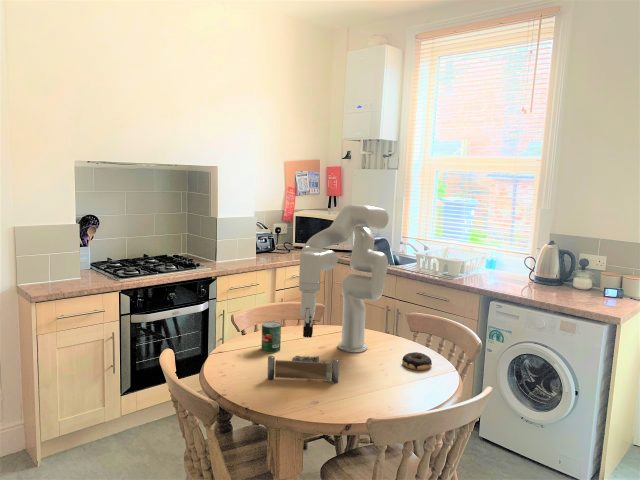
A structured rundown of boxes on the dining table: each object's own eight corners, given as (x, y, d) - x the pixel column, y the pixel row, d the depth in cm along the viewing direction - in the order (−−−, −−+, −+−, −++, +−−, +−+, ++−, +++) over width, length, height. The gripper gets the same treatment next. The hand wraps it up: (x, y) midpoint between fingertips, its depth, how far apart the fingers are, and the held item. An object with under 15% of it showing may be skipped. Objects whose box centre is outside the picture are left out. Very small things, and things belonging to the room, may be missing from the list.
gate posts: (268, 377, 185) (268, 355, 183) (338, 380, 184) (339, 359, 182) (267, 379, 182) (267, 358, 181) (338, 383, 181) (339, 361, 180)
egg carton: (290, 371, 191) (290, 360, 191) (292, 363, 199) (292, 353, 198) (318, 372, 191) (319, 361, 190) (319, 364, 198) (320, 354, 198)
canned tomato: (257, 351, 210) (258, 325, 208) (267, 345, 217) (267, 320, 216) (275, 354, 207) (275, 328, 205) (283, 348, 214) (284, 322, 213)
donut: (397, 366, 200) (397, 356, 199) (411, 357, 209) (411, 348, 208) (423, 373, 193) (424, 363, 192) (436, 365, 202) (437, 355, 202)
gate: (275, 376, 184) (275, 358, 183) (330, 379, 183) (331, 361, 182) (274, 378, 182) (275, 360, 181) (330, 381, 182) (331, 363, 181)
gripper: (300, 280, 191) (299, 328, 194) (297, 291, 175) (295, 342, 178) (320, 281, 191) (319, 328, 194) (318, 291, 175) (317, 343, 177)
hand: (307, 334), depth 186 cm, fingers open, 2 cm apart
